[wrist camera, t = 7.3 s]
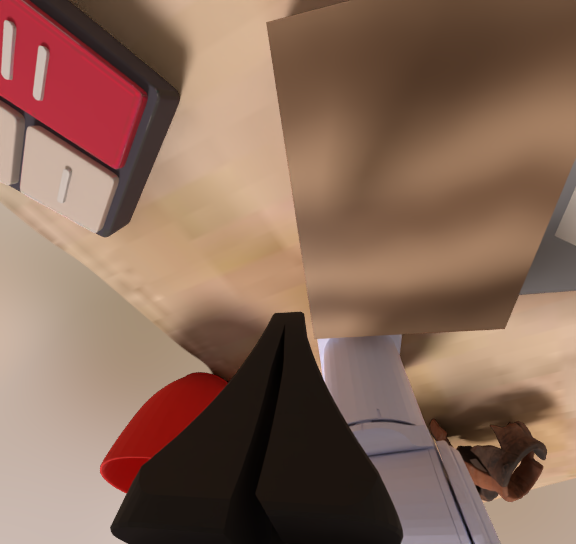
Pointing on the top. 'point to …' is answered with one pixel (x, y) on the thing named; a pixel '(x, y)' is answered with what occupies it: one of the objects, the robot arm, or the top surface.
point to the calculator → (77, 114)
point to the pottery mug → (501, 461)
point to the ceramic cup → (158, 425)
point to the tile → (568, 222)
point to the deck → (424, 155)
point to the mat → (554, 252)
